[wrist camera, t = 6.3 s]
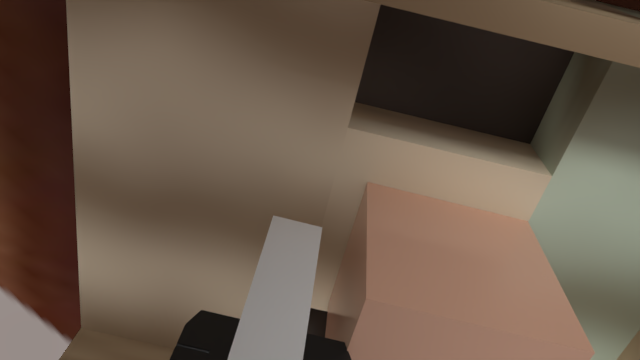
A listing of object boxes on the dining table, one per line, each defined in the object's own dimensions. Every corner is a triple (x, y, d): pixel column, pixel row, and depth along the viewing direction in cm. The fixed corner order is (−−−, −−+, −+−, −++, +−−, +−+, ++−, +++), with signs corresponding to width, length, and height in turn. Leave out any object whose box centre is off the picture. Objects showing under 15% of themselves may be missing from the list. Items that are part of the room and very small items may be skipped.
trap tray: (110, -120, 13) (-34, -137, 9) (794, 50, 14) (1017, 122, 9) (111, 297, 21) (36, 409, 16) (548, 397, 22) (597, 534, 17)
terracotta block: (367, 181, 14) (366, 298, 10) (527, 221, 15) (594, 353, 10) (328, 302, 17) (314, 438, 12) (466, 335, 17) (499, 480, 13)
